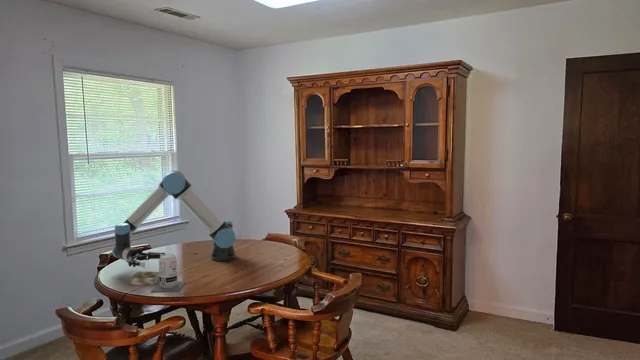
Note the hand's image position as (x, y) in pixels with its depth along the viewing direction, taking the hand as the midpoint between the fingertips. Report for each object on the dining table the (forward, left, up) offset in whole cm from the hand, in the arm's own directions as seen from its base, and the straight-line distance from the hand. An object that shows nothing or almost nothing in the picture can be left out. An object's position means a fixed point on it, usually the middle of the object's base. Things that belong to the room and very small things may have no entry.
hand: (156, 261), depth 213 cm
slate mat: (-7, +6, -11) cm, 15 cm away
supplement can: (-7, +6, -11) cm, 14 cm away
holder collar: (+7, -5, -11) cm, 14 cm away
